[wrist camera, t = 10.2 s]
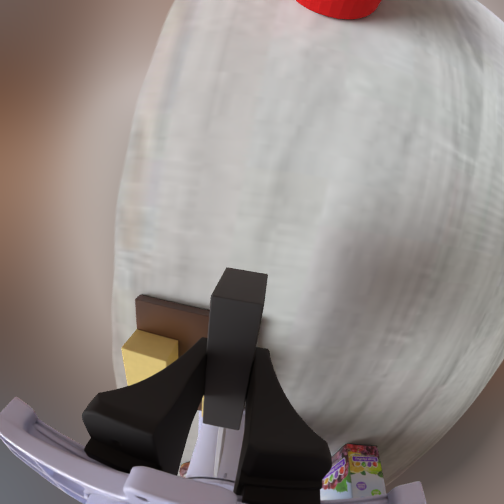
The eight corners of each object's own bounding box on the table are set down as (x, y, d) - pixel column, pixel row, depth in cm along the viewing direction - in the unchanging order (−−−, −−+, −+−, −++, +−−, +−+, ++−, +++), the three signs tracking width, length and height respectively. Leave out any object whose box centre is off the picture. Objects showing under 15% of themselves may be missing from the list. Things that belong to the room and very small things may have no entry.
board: (238, 411, 25) (236, 418, 24) (147, 389, 26) (144, 395, 25) (255, 318, 22) (254, 325, 21) (140, 294, 22) (134, 298, 21)
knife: (226, 266, 13) (210, 295, 10) (268, 273, 13) (264, 304, 10) (209, 448, 18) (201, 478, 15) (233, 452, 18) (227, 483, 15)
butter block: (179, 387, 24) (169, 409, 21) (141, 376, 24) (129, 395, 21) (178, 340, 22) (166, 361, 19) (136, 328, 22) (121, 347, 19)
